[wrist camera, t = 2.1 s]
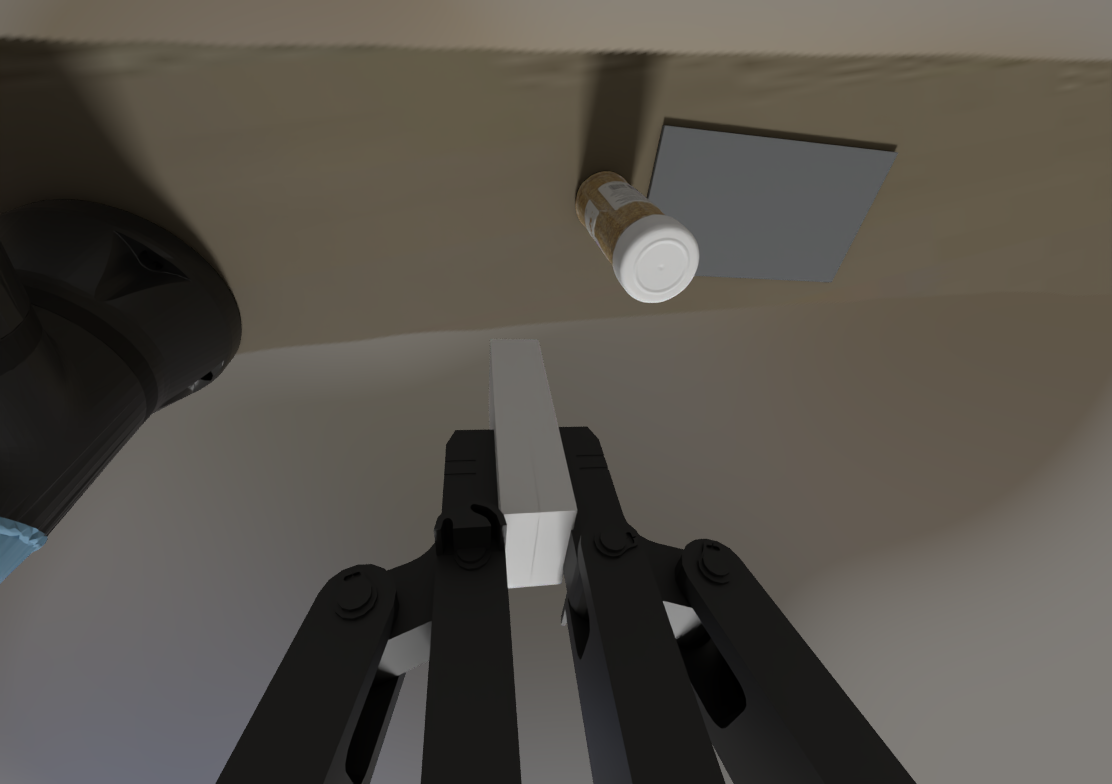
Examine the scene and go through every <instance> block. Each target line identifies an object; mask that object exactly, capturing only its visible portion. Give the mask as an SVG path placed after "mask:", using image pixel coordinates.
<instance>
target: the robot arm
mask: <svg viewBox="0 0 1112 784" xmlns="http://www.w3.org/2000/svg"><path fill="white" fill-rule="evenodd" d="M241 333H242V328H241V319H240V315H239V311H238V308H237V305H236V303H235V301H234V299H233V296H232V294H231V293H230V291H229V289H228V288H227V286H226V285H225V283H224V282H223V280H222V279H221V278H220V276H219V275H218V274H217V273H216V272H215V270H214V269H213V268H212V267H211V266H210V265H209V264H208V263H207V262H206V261H205V260H204V259H203V258H202V257H201V256H200V255H199V254H198V253H196V252H195V251H194V250H193V249H192V248H191V247H189V246H188V245H187V244H185V243H184V242H183V241H181V240H180V239H178V238H177V237H175V236H174V235H172V234H171V233H169V232H167V231H166V230H164V229H162V228H161V227H159V226H157V225H155V224H153V223H151V222H149V221H147V220H145V219H143V218H141V217H138V216H136V215H133V214H131V213H128V212H126V211H123V210H120V209H117V208H114V207H110V206H106V205H102V204H98V203H93V202H87V201H79V200H46V201H40V202H35V203H31V204H28V205H25V206H22V207H19V208H16V209H13V210H11V211H8V212H5V213H2V214H0V583H1V582H2V581H3V580H4V579H5V578H6V577H7V576H8V575H9V574H10V573H11V572H12V571H13V570H14V569H15V568H16V567H18V566H19V564H20V563H22V562H23V560H25V559H26V558H27V557H28V556H29V555H30V554H31V553H32V552H34V551H36V550H38V549H40V548H41V547H42V546H43V545H44V544H45V543H46V541H47V536H48V535H49V533H50V532H51V531H52V530H53V529H54V528H55V526H56V525H57V524H58V523H59V522H60V520H61V519H62V518H63V517H64V516H65V515H66V513H67V512H68V511H69V510H70V509H71V508H72V506H73V505H74V504H75V503H76V501H77V500H78V499H79V498H80V497H81V496H82V495H83V493H84V492H85V491H86V490H87V489H88V487H89V486H90V485H91V484H92V483H93V482H94V480H95V479H96V478H97V477H98V476H99V475H100V473H101V472H102V471H103V470H104V469H105V467H106V466H107V465H108V464H109V463H110V462H111V460H112V459H113V458H114V457H115V456H116V454H117V453H118V452H119V451H120V450H121V449H122V448H123V446H124V445H125V444H126V443H127V442H128V441H129V440H130V438H131V437H132V436H133V435H134V434H135V433H136V431H137V430H138V429H139V428H140V427H141V425H142V424H143V423H144V422H145V421H146V420H147V419H148V418H149V417H150V415H151V414H153V413H155V412H156V411H159V410H161V409H162V408H165V407H167V406H168V405H170V404H172V403H174V402H176V401H178V400H180V399H182V398H184V397H186V396H188V395H190V394H192V393H194V392H196V391H198V390H200V389H202V388H204V387H205V386H207V385H208V384H210V383H211V382H212V381H214V380H215V379H216V378H217V377H218V376H219V375H220V374H221V373H222V372H223V370H224V369H225V368H226V366H227V365H228V364H229V363H230V361H231V360H232V359H233V357H234V356H235V354H236V352H237V350H238V348H239V345H240V341H241ZM489 423H490V430H455V432H454V434H453V435H452V436H451V438H450V440H449V441H448V443H447V444H446V457H445V472H444V488H443V503H442V513H441V515H440V516H439V517H438V518H437V521H436V525H435V528H434V536H435V543H434V544H433V546H432V547H431V548H430V549H429V550H428V551H427V552H426V553H425V554H423V555H422V556H421V557H419V558H417V559H415V560H413V561H411V562H409V563H407V564H404V565H401V566H398V567H396V568H393V569H391V570H388V571H386V570H385V569H384V568H381V567H378V566H375V565H372V564H368V565H367V564H366V565H356V566H353V567H350V568H347V569H345V570H342V571H341V572H339V573H338V574H337V575H335V576H334V577H332V578H331V579H330V580H329V581H328V582H327V583H326V584H325V586H324V587H323V588H322V590H321V591H320V592H319V594H318V595H317V597H316V599H315V601H314V603H313V605H312V607H311V608H310V611H309V612H308V614H307V616H306V618H305V619H304V621H303V623H302V625H301V627H300V629H299V630H298V632H297V634H296V636H295V638H294V640H293V642H292V643H291V645H290V647H289V649H288V651H287V653H286V654H285V656H284V658H283V660H282V662H281V664H280V666H279V667H278V669H277V671H276V673H275V675H274V677H273V679H272V680H271V682H270V684H269V686H268V688H267V690H266V692H265V693H264V695H263V697H262V699H261V701H260V702H259V704H258V706H257V708H256V710H255V712H254V714H253V716H252V717H251V719H250V721H249V723H248V725H247V726H246V729H245V730H244V732H243V734H242V736H241V737H240V739H239V741H238V743H237V745H236V747H235V749H234V751H233V752H232V754H231V756H230V758H229V760H228V761H227V763H226V765H225V767H224V769H223V771H222V773H221V774H220V776H219V778H218V780H217V782H216V784H370V781H371V778H372V775H373V772H374V769H375V766H376V763H377V760H378V757H379V754H380V751H381V747H382V744H383V741H384V738H385V735H386V732H387V729H388V726H389V723H390V720H391V717H392V714H393V711H394V708H395V704H396V701H397V699H398V695H399V692H400V689H401V686H402V683H403V680H404V677H405V674H406V672H407V671H409V670H410V669H413V668H415V667H417V666H419V665H421V664H423V663H425V662H428V661H429V672H428V686H427V687H428V688H427V701H426V715H425V731H424V745H423V760H422V775H421V784H521V770H520V756H519V741H518V728H517V713H516V699H515V684H514V669H513V655H512V640H511V627H510V611H509V597H508V588H518V587H530V586H540V585H553V584H561V583H562V578H563V574H564V577H565V583H566V588H567V594H566V599H565V603H564V607H563V611H562V615H561V626H563V625H566V622H567V624H568V630H569V636H570V642H571V649H572V654H573V661H574V667H575V673H576V679H577V685H578V691H579V698H580V704H581V710H582V716H583V722H584V727H585V734H586V740H587V747H588V752H589V758H590V765H591V771H592V777H593V783H594V784H725V781H724V778H723V775H722V772H721V769H720V766H719V763H718V761H717V758H716V755H715V752H714V749H713V746H714V748H715V750H716V752H717V754H718V756H719V757H720V759H721V761H722V763H723V765H724V767H725V768H726V770H727V772H728V774H729V776H730V778H731V779H732V781H733V783H734V784H916V782H915V781H914V780H913V779H912V777H911V776H910V775H909V774H908V772H907V771H906V770H905V769H904V767H903V766H902V765H901V763H900V762H899V761H898V759H897V758H896V757H895V756H894V754H893V753H892V752H891V751H890V749H889V748H888V747H887V746H886V744H885V743H884V742H883V740H882V739H881V738H880V737H879V735H878V734H877V733H876V731H875V730H874V729H873V728H872V726H871V725H870V724H869V722H868V721H867V720H866V719H865V717H864V716H863V715H862V714H861V712H860V711H859V710H858V708H857V707H856V706H855V705H854V703H853V702H852V701H851V700H850V698H849V697H848V696H847V694H846V693H845V692H844V691H843V690H842V688H841V687H840V686H839V684H838V683H837V682H836V680H835V679H834V678H833V677H832V675H831V674H830V673H829V672H828V670H827V669H826V668H825V667H824V665H823V664H822V663H821V661H820V660H819V659H818V657H816V655H815V654H814V652H813V651H812V650H811V649H810V647H809V646H808V645H807V644H806V642H805V641H804V640H803V639H802V637H801V636H800V635H799V633H798V632H797V631H796V630H795V628H794V627H793V626H792V624H791V623H790V622H789V621H788V619H787V618H786V617H785V615H784V614H783V613H782V612H781V610H780V609H779V608H778V606H777V605H776V604H775V603H774V601H773V600H772V599H771V598H770V596H769V595H768V594H767V593H766V591H765V590H764V589H763V587H762V586H761V585H760V584H759V582H758V581H757V580H756V578H755V577H754V576H753V575H752V573H751V572H750V571H749V569H747V567H746V566H745V564H744V563H743V562H742V561H741V559H740V558H739V557H738V556H737V555H736V554H735V553H734V552H733V551H732V550H731V549H730V548H728V547H726V546H725V545H723V544H721V543H719V542H717V541H713V540H709V539H698V540H694V541H692V542H690V543H689V544H687V545H686V547H685V549H684V550H683V549H678V548H675V547H671V546H666V545H662V544H658V543H655V542H652V541H649V540H647V539H645V538H644V537H642V536H640V535H639V534H638V533H637V531H636V530H635V529H634V528H633V527H631V526H630V525H629V524H628V523H627V522H626V519H625V518H624V515H623V512H622V510H621V506H620V503H619V500H618V497H617V494H616V491H615V488H614V485H613V482H612V479H611V475H610V473H609V470H608V467H607V463H606V460H605V458H604V454H603V451H602V448H601V445H600V442H599V439H598V438H597V437H596V436H595V435H594V434H593V432H592V431H591V430H590V429H589V428H588V427H558V423H557V419H556V414H555V410H554V406H553V401H552V397H551V392H550V388H549V384H548V379H547V375H546V371H545V366H544V362H543V358H542V353H541V349H540V344H539V340H531V339H490V373H489ZM712 744H713V746H712Z"/></svg>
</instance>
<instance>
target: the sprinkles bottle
mask: <svg viewBox="0 0 1112 784" xmlns="http://www.w3.org/2000/svg"><path fill="white" fill-rule="evenodd" d="M575 206H576V212H577V215H578V218H579V220H580V222H581V223H582V224H583V225H584V226H585V227H586V228H587V230H588V232H589V233H590V235H591V236H592V238H593V239H594V240H595V242H596V243H597V244H598V246H599V247H600V249H601V250H602V252H603V253H604V255H605V256H606V257H607V259H608V260H609V261H610V262H611V264H612V265H613V269H614V273H615V275H616V277H617V279H618V280H619V282H620V284H621V285H622V286H623V288H624V289H625V290H626V292H627V293H628V294H629V295H630V296H632V297H633V298H635V299H636V300H639V301H641V302H646V303H658V302H662V301H666V300H668V299H670V298H672V297H674V296H676V295H677V294H679V293H680V292H681V291H683V290H684V289H685V288H686V287H687V285H688V284H689V283H690V281H691V280H692V278H693V277H694V275H695V273H696V270H697V267H698V263H699V248H698V244H697V241H696V239H695V238H694V236H693V235H692V233H691V232H690V231H689V230H688V229H687V228H686V227H684V226H683V225H682V224H681V223H680V222H679V221H677V220H676V219H674V218H672V217H670V216H666V215H665V214H663V213H662V211H661V210H660V209H659V208H658V207H657V206H656V205H655V204H653V203H652V202H651V201H650V200H648V199H647V198H646V197H645V196H643V195H642V194H641V193H640V192H639V191H637V190H636V189H635V188H634V187H632V186H631V185H629V184H628V183H627V181H626V180H625V179H624V178H623V177H622V176H620V175H619V174H617V173H614V172H611V171H602V172H598V173H596V174H593V175H591V176H590V177H589V178H588V179H586V180H585V181H584V182H583V183H582V185H581V186H580V188H579V190H578V193H577V197H576V202H575Z"/></svg>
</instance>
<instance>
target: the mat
mask: <svg viewBox="0 0 1112 784" xmlns="http://www.w3.org/2000/svg"><path fill="white" fill-rule="evenodd" d="M897 154H898V153H897V152H892V151H883V150H874V149H866V148H857V147H849V146H840V145H831V144H823V143H814V142H806V141H797V140H788V139H780V138H771V137H763V136H754V135H745V134H737V133H728V132H720V131H711V130H702V129H694V128H685V127H677V126H668V125H663V127H662V132H661V136H660V141H659V145H658V150H657V154H656V159H655V163H654V168H653V172H652V177H651V181H650V186H649V191H648V195H647V199H648V200H650V201H651V202H652V203H653V204H655V205H656V206H657V207H658V208H659V209H660V210H661V211H662V213H663V214H665V215H666V216H670V217H672V218H674V219H676V220H677V221H679V222H680V223H681V224H682V225H683V226H684V227H686V228H687V229H688V230H689V231H690V232H691V233H692V235H693V236H694V238H695V239H696V241H697V244H698V248H699V263H698V267H697V270H696V273H695V275H694V276H713V277H733V278H754V279H775V280H796V281H817V282H832V280H833V278H834V276H835V275H836V273H837V271H838V269H839V267H840V265H841V263H842V261H843V259H844V257H845V255H846V253H847V251H848V249H849V247H850V245H851V243H852V242H853V240H854V238H855V236H856V234H857V232H858V230H859V228H860V226H861V224H862V222H863V220H864V218H865V216H866V214H867V212H868V210H869V209H870V207H871V205H872V203H873V201H874V199H875V197H876V195H877V193H878V191H879V189H880V187H881V185H882V183H883V181H884V179H885V177H886V176H887V174H888V172H889V170H890V168H891V166H892V164H893V162H894V160H895V158H896V156H897Z"/></svg>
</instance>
